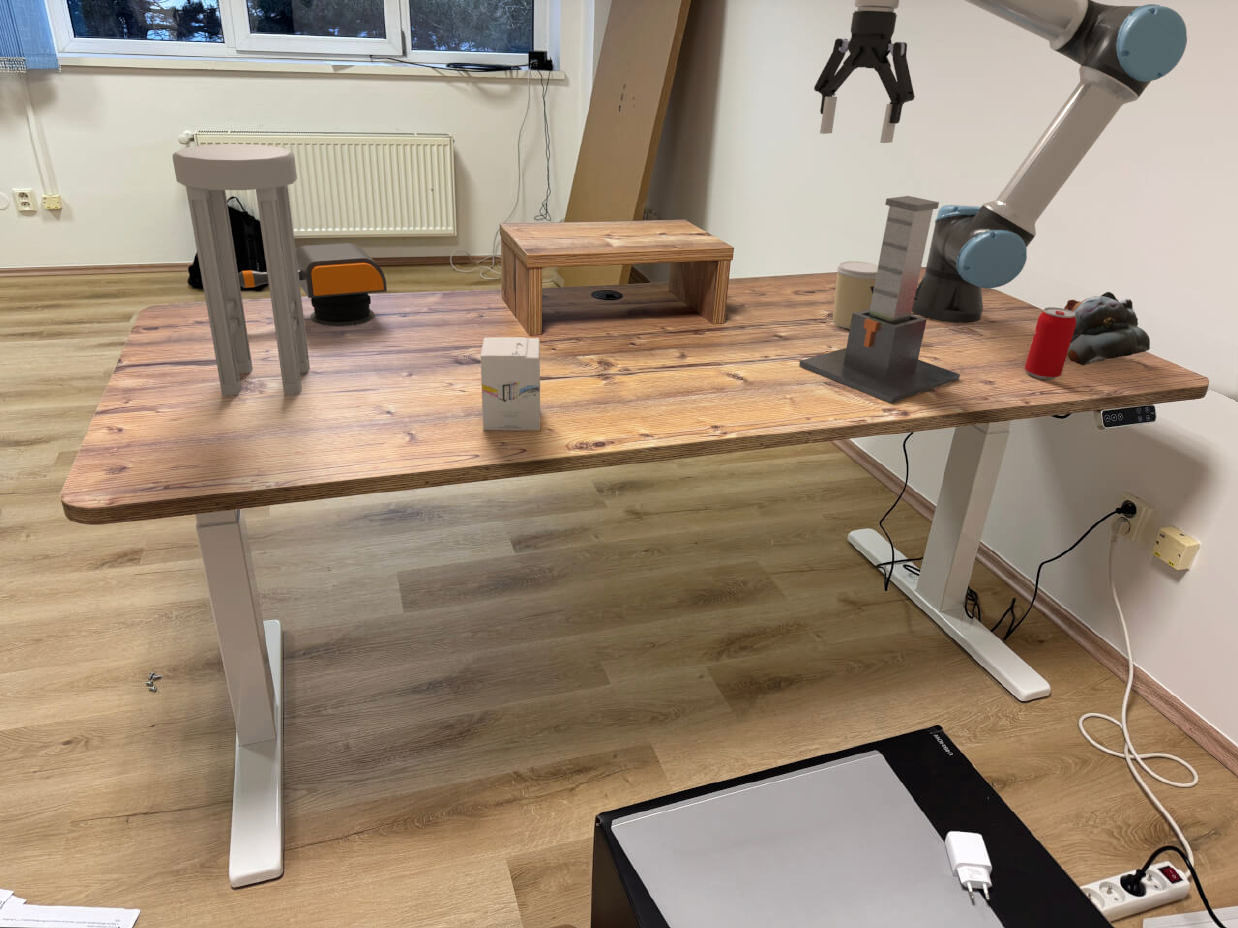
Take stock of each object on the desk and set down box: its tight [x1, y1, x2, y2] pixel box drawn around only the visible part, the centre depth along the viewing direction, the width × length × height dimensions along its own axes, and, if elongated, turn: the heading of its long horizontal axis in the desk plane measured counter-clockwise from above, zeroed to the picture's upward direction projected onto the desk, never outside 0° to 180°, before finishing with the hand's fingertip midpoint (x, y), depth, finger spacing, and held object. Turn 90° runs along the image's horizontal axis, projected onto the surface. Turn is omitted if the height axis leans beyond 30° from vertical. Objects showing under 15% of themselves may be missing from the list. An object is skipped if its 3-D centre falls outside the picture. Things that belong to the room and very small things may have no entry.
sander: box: [238, 242, 388, 328], centre depth 164 cm, size 15×25×13 cm, turn 117°
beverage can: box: [1024, 306, 1076, 380], centre depth 157 cm, size 6×6×12 cm
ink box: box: [480, 336, 541, 431], centre depth 128 cm, size 9×8×12 cm
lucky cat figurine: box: [1063, 291, 1151, 367], centre depth 167 cm, size 15×12×14 cm
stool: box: [172, 143, 311, 397], centre depth 131 cm, size 16×16×35 cm
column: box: [869, 195, 940, 325], centre depth 147 cm, size 6×6×21 cm
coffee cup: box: [832, 260, 878, 330], centre depth 178 cm, size 9×9×12 cm
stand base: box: [798, 309, 961, 404], centre depth 154 cm, size 20×20×10 cm
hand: (855, 138), depth 163 cm, fingers open, 13 cm apart
